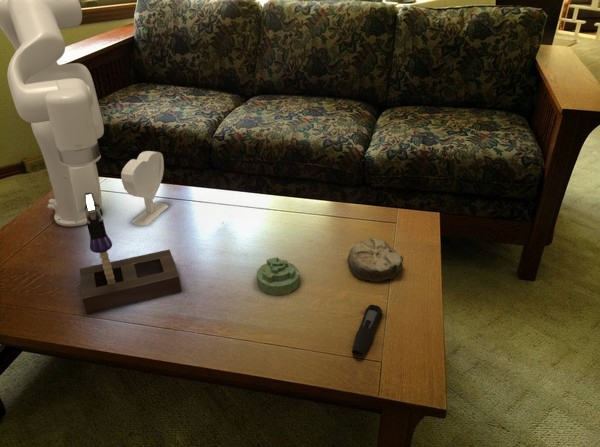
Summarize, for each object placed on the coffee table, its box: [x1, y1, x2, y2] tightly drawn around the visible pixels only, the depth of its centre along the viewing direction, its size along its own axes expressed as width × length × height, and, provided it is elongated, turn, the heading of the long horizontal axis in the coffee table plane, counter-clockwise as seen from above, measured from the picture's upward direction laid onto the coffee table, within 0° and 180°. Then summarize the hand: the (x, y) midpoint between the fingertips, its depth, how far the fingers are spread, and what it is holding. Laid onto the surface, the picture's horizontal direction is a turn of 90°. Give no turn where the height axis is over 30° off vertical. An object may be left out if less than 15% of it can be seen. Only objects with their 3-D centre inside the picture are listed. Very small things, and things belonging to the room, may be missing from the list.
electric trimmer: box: [351, 304, 383, 357], centre depth 108 cm, size 4×16×3 cm, turn 159°
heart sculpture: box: [120, 150, 169, 226], centre depth 148 cm, size 16×5×18 cm, turn 162°
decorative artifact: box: [256, 257, 300, 296], centre depth 123 cm, size 10×7×10 cm
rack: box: [79, 249, 182, 315], centre depth 121 cm, size 12×21×4 cm, turn 113°
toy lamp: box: [89, 234, 116, 285], centre depth 117 cm, size 5×5×17 cm
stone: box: [347, 237, 404, 283], centre depth 128 cm, size 13×13×5 cm
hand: (97, 226), depth 111 cm, fingers open, 9 cm apart
